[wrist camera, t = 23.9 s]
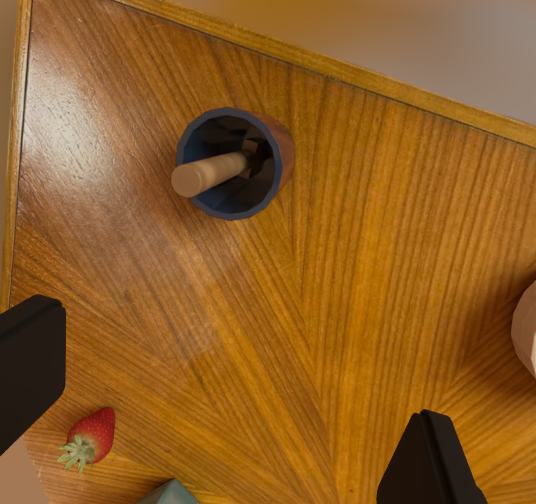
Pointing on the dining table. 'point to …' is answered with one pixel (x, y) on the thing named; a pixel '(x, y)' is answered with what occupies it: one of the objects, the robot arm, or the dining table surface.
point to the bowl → (526, 329)
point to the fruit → (89, 439)
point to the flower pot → (169, 495)
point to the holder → (230, 140)
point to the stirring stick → (217, 169)
